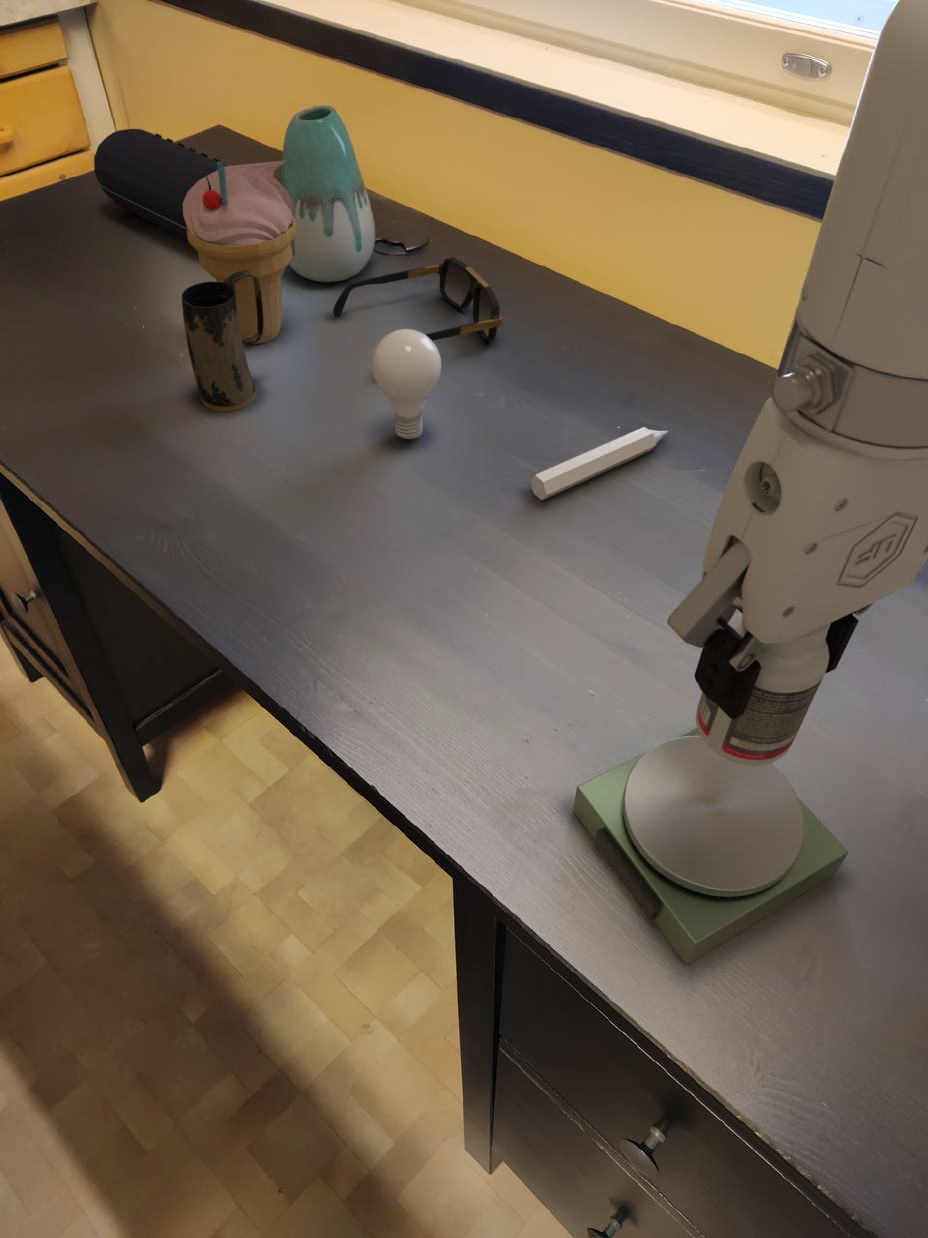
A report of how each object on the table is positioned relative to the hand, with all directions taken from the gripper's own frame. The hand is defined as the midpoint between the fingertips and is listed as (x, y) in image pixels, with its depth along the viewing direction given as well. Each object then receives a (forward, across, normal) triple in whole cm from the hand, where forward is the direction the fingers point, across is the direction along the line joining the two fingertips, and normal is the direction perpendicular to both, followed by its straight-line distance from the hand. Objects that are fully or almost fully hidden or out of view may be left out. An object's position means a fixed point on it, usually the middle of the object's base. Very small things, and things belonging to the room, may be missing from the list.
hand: (764, 673), depth 48 cm
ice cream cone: (+17, -3, +73) cm, 75 cm away
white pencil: (+17, +17, +35) cm, 43 cm away
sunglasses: (+17, +13, +65) cm, 69 cm away
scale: (+17, 0, 0) cm, 17 cm away
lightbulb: (+17, +3, +48) cm, 51 cm away
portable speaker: (+17, -2, +102) cm, 104 cm away
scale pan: (+14, 0, 0) cm, 14 cm away
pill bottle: (+5, 0, 0) cm, 5 cm away
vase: (+17, +10, +83) cm, 86 cm away
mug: (+17, -9, +63) cm, 66 cm away
